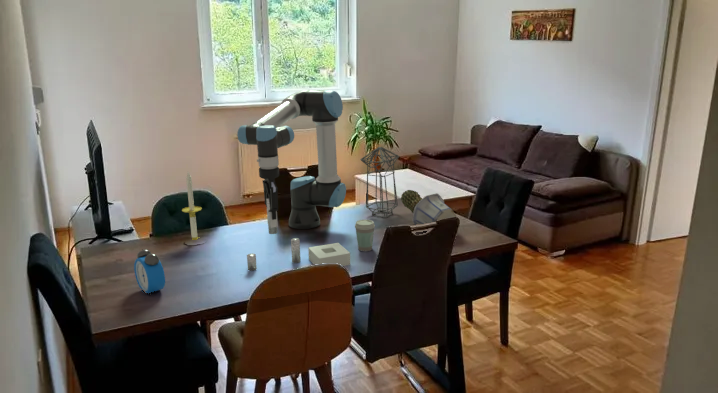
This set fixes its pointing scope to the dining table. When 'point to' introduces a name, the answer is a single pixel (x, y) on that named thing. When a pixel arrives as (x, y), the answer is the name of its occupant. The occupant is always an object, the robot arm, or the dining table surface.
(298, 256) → the medium pin
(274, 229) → the long pin
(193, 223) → the candlestick
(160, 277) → the alarm clock
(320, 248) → the hole block
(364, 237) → the coffee cup
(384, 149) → the geometric lantern
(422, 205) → the potted plant
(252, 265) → the short pin
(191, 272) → the dining table surface
